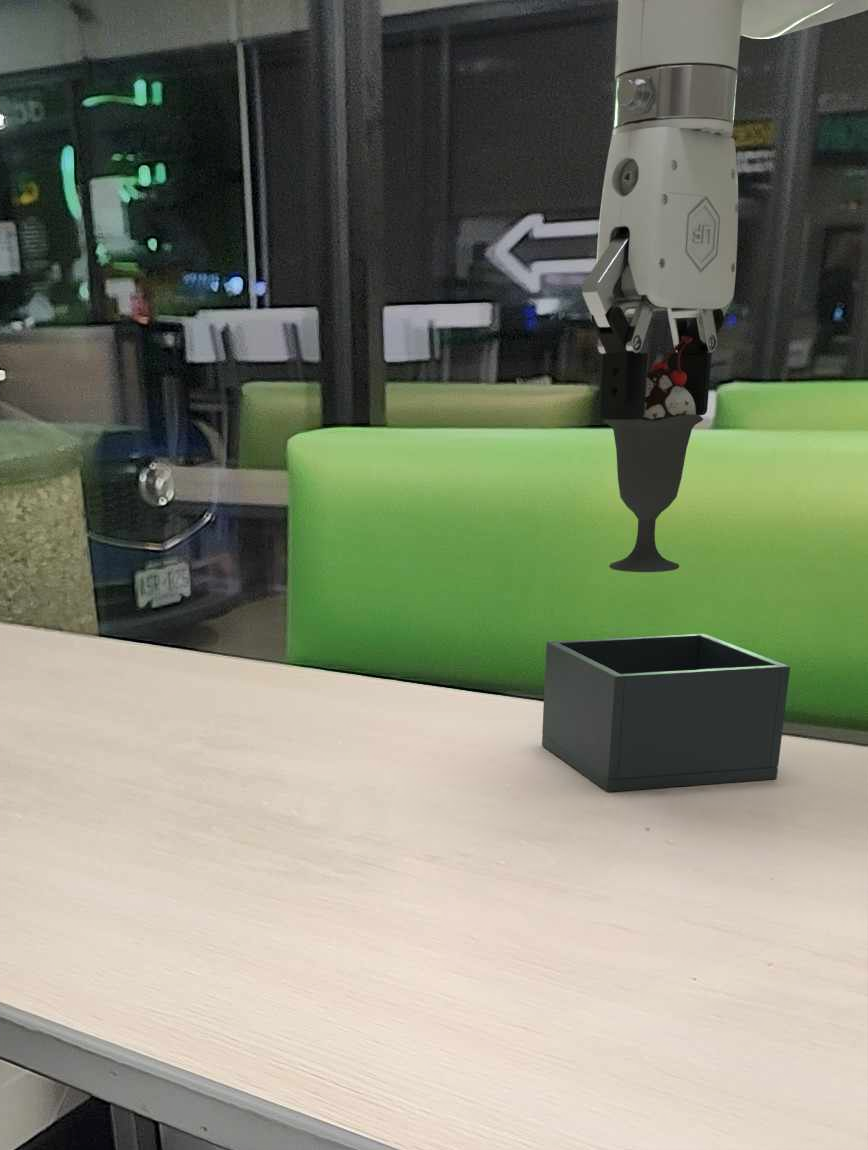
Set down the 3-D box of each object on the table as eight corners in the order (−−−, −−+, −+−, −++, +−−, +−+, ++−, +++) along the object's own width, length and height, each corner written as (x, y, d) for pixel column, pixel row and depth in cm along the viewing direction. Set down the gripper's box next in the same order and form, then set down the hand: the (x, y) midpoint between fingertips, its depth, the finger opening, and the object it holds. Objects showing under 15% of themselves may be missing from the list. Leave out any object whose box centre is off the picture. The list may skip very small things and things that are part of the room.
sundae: (711, 567, 94) (730, 334, 88) (644, 576, 91) (659, 334, 85) (644, 558, 99) (657, 337, 93) (578, 567, 96) (587, 337, 90)
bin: (694, 734, 119) (704, 633, 116) (776, 779, 106) (790, 666, 103) (541, 745, 116) (546, 641, 112) (607, 792, 103) (615, 676, 99)
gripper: (643, 86, 76) (625, 423, 83) (796, 118, 87) (769, 413, 94) (540, 104, 80) (531, 421, 88) (697, 133, 92) (678, 412, 99)
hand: (654, 414), depth 91 cm, fingers closed on sundae, 6 cm apart
